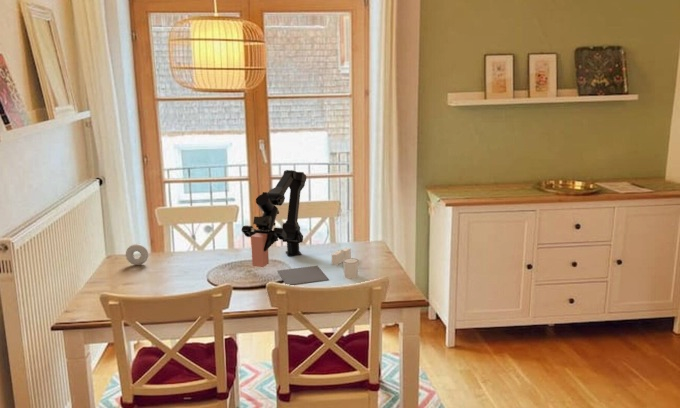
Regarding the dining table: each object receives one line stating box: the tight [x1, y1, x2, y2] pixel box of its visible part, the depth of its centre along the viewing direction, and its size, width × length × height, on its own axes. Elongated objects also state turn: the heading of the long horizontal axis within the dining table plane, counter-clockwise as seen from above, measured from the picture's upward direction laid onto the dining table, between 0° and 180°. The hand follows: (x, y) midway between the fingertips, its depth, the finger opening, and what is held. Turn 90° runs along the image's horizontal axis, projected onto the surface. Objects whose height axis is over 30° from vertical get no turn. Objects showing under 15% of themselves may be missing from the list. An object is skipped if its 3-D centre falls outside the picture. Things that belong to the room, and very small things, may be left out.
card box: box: [250, 233, 270, 268], centre depth 243 cm, size 5×5×13 cm
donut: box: [125, 243, 149, 266], centre depth 265 cm, size 10×4×10 cm, turn 95°
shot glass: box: [342, 257, 360, 280], centre depth 245 cm, size 7×7×7 cm
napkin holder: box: [331, 247, 352, 266], centre depth 264 cm, size 15×11×6 cm
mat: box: [277, 265, 330, 286], centre depth 248 cm, size 18×18×1 cm
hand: (258, 250), depth 242 cm, fingers closed on card box, 5 cm apart
